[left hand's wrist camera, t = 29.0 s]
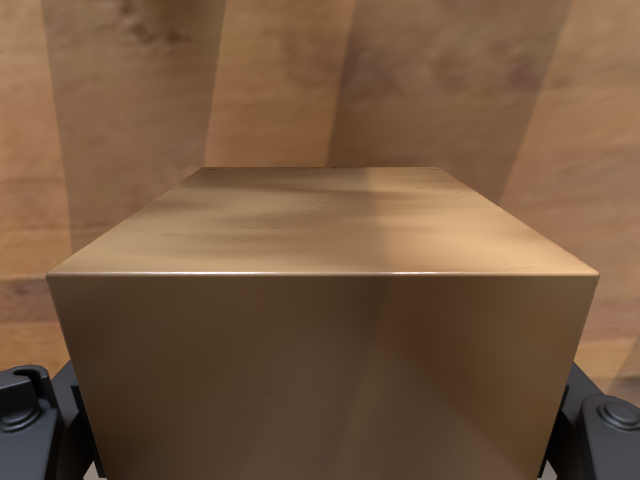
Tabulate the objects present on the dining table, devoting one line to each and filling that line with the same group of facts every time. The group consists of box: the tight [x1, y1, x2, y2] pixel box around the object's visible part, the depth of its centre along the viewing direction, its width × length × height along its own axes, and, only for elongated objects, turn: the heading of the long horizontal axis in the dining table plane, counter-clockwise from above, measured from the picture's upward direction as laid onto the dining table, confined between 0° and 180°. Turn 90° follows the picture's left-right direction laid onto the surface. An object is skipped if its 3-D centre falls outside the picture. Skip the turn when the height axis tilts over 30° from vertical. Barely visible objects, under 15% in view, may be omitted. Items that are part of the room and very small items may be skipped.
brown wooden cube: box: [46, 167, 599, 480], centre depth 11 cm, size 9×9×9 cm
